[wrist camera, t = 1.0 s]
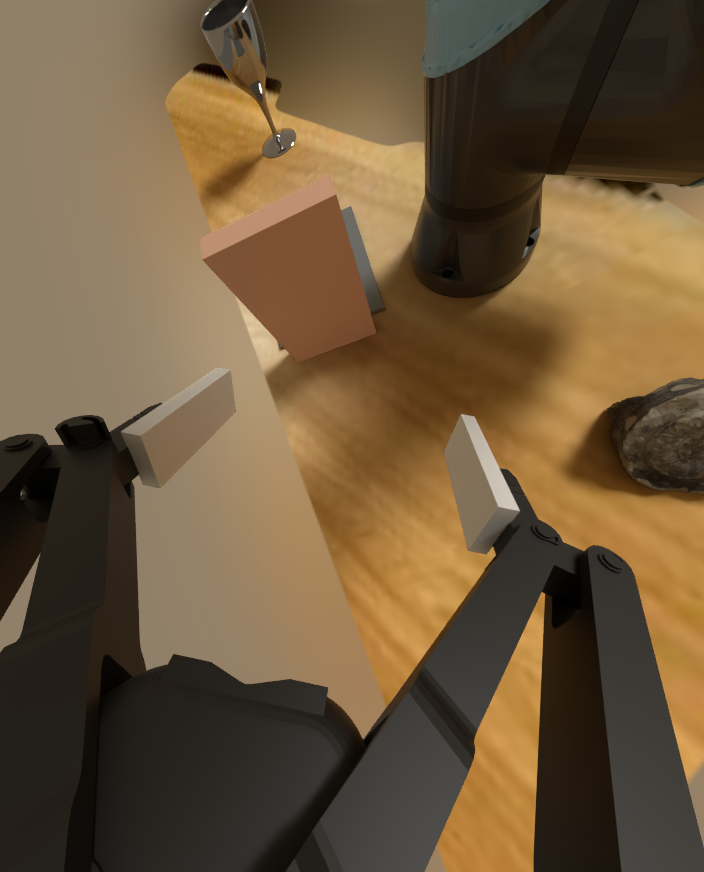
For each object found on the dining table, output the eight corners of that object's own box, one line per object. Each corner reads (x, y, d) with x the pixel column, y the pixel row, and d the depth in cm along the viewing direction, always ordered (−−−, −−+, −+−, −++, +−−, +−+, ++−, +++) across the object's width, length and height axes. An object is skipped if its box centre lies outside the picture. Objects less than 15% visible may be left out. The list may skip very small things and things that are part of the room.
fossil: (627, 510, 26) (681, 446, 19) (571, 438, 32) (596, 370, 25) (777, 487, 23) (905, 402, 16) (685, 414, 29) (748, 330, 22)
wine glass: (297, 150, 50) (247, 12, 36) (259, 165, 52) (197, 39, 38) (298, 120, 52) (250, -22, 38) (261, 135, 54) (202, 6, 40)
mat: (351, 209, 43) (350, 205, 43) (384, 309, 38) (383, 306, 37) (263, 250, 46) (262, 247, 46) (282, 348, 41) (280, 347, 40)
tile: (372, 318, 38) (329, 172, 21) (376, 333, 37) (336, 194, 20) (294, 348, 40) (200, 237, 23) (297, 362, 39) (202, 259, 23)
